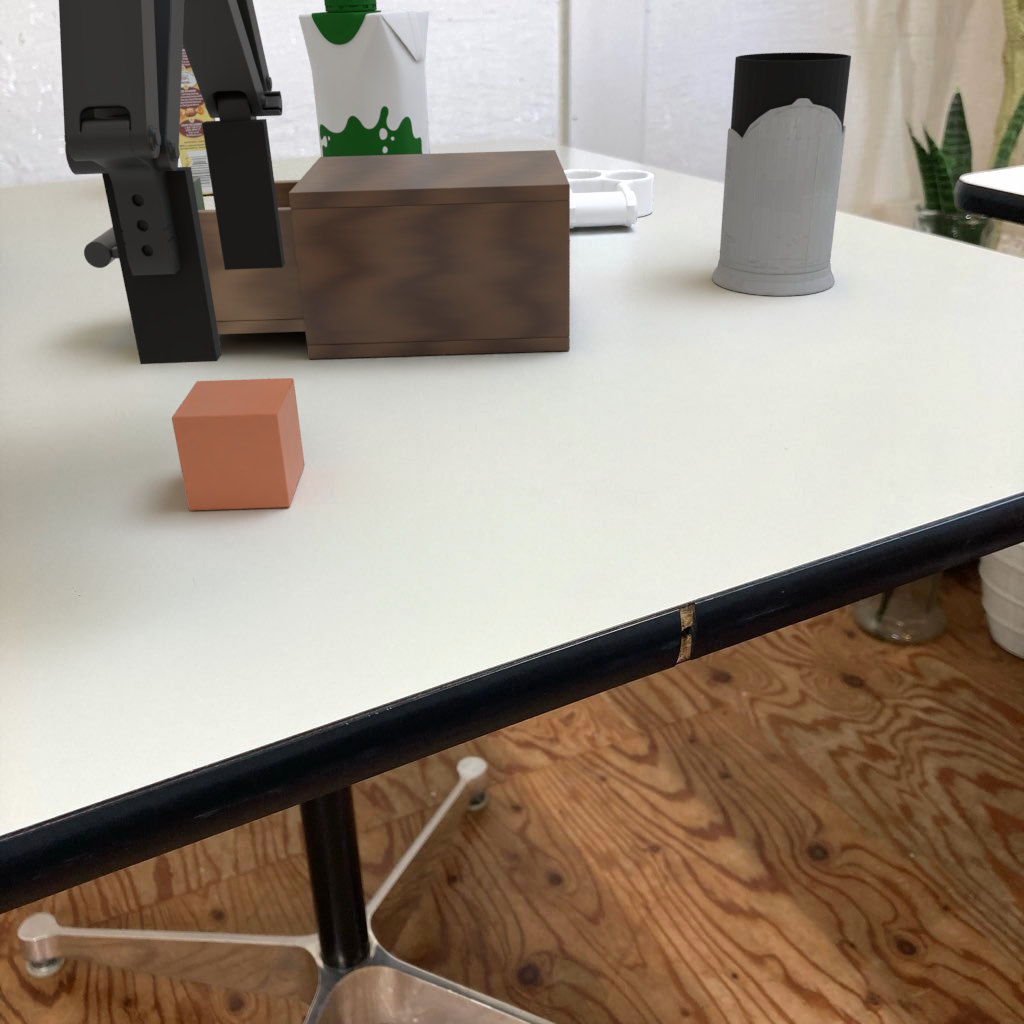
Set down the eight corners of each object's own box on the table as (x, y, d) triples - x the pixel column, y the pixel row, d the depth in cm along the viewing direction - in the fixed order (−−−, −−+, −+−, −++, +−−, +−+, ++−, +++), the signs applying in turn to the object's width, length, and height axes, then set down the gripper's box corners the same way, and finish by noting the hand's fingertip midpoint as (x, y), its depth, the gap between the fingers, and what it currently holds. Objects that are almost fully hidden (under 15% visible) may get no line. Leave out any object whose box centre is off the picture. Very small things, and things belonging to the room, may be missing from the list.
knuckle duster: (468, 239, 90) (461, 206, 103) (673, 230, 91) (640, 198, 104) (466, 199, 89) (459, 171, 101) (675, 190, 90) (641, 163, 103)
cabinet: (308, 359, 63) (288, 192, 58) (334, 300, 74) (319, 156, 70) (569, 351, 63) (569, 184, 59) (556, 293, 74) (555, 149, 70)
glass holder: (722, 297, 72) (739, 63, 66) (693, 249, 85) (704, 48, 78) (849, 294, 72) (878, 59, 65) (800, 246, 85) (821, 45, 78)
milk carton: (313, 245, 90) (283, -15, 80) (368, 223, 97) (347, -18, 88) (401, 253, 86) (381, -18, 77) (452, 230, 94) (439, -20, 84)
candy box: (225, 194, 112) (201, 38, 105) (184, 197, 111) (158, 40, 104) (225, 180, 120) (203, 34, 113) (187, 183, 119) (163, 36, 112)
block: (188, 511, 45) (170, 417, 43) (211, 468, 49) (196, 380, 47) (289, 507, 45) (276, 413, 43) (305, 465, 49) (293, 377, 47)
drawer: (85, 348, 63) (56, 215, 59) (141, 295, 73) (119, 179, 69) (397, 338, 63) (387, 205, 59) (409, 287, 73) (400, 170, 70)
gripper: (115, -503, 22) (256, 413, 32) (297, -261, 45) (348, 237, 54) (-234, -492, 22) (12, 423, 32) (122, -256, 45) (204, 243, 54)
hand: (223, 307), depth 43 cm, fingers open, 13 cm apart
